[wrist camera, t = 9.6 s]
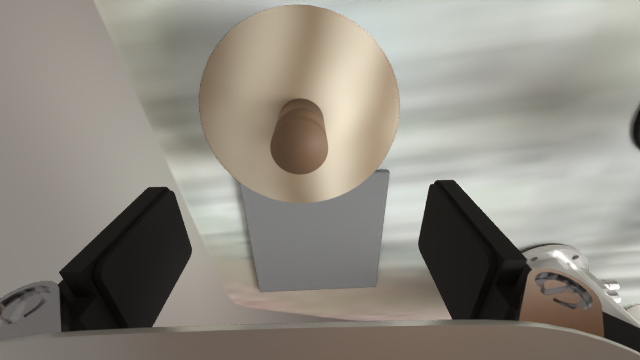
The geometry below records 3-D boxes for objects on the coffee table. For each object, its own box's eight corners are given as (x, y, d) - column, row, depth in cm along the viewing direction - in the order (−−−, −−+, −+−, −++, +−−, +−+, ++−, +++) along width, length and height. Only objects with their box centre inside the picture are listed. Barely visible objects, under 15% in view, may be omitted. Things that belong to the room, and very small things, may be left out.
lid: (407, 3, 17) (452, -6, 12) (385, 192, 24) (407, 240, 19) (182, 7, 17) (123, 0, 12) (224, 198, 24) (200, 249, 19)
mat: (388, 169, 30) (389, 172, 29) (374, 283, 39) (375, 287, 38) (239, 174, 30) (238, 177, 29) (260, 288, 38) (259, 292, 38)
